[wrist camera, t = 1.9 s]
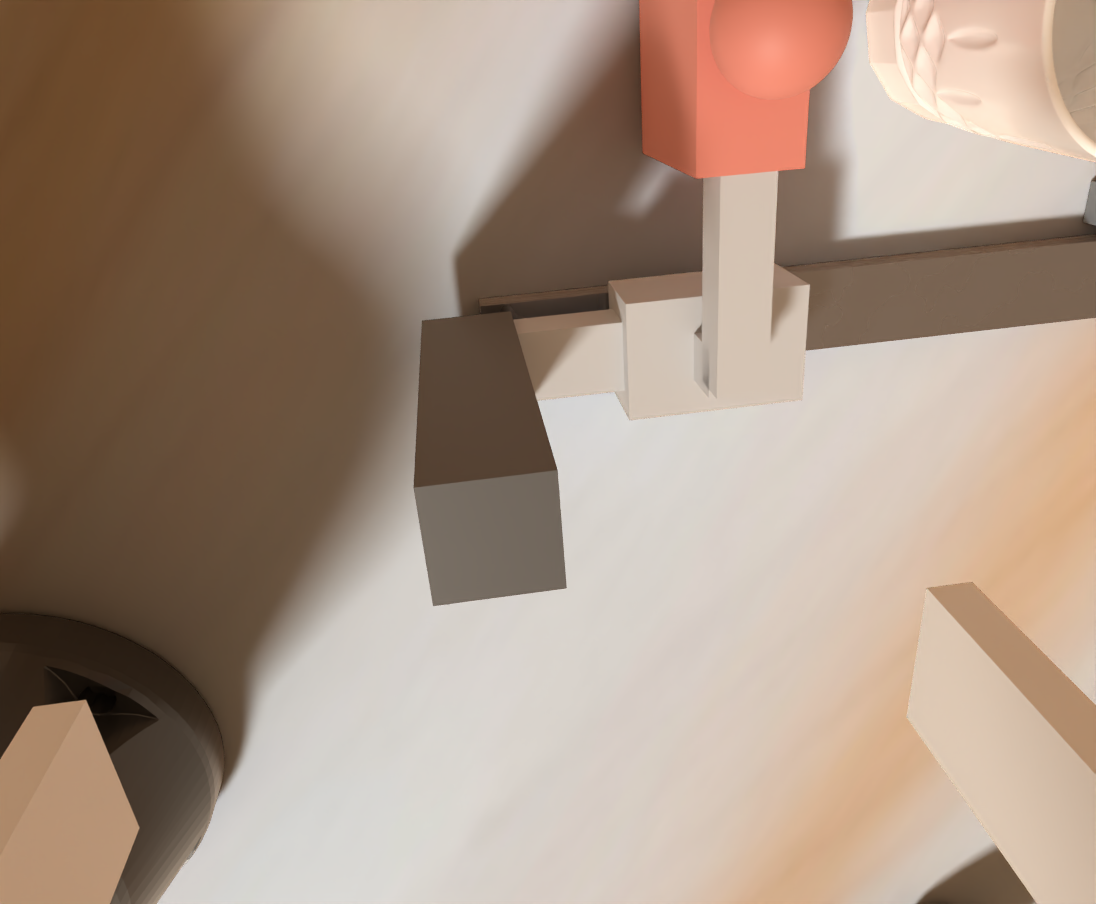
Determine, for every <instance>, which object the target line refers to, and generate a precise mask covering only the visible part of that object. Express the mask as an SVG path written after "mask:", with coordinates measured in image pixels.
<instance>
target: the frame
mask: <svg viewBox="0 0 1096 904" xmlns="http://www.w3.org/2000/svg"><path fill="white" fill-rule="evenodd" d="M1083 222H1084V223H1088V224H1091V225H1095V226H1096V181H1091V185H1090V190H1089V195H1088V200H1087V205H1086V209H1085V214H1084V219H1083Z"/></svg>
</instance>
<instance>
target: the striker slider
mask: <svg viewBox="0 0 1096 904" xmlns="http://www.w3.org/2000/svg"><path fill="white" fill-rule="evenodd" d="M639 13H640V58H641V104H642V149H643V154H645V155H647V156H650V157H652V158H654V159H656V160H658V161H660V162H662V163H664V164H666V165H668V166H671V167H673V168H675V169H677V170H679V171H681V172H683V173H685V174H687V175H689V176H692V177H694V178H696V179H699V178H703V271H699V272H690V273H680V274H670V275H661V276H651V277H642V278H632V279H623V280H613V281H608V293H609V309H608V310H598V311H589V312H580V313H570V314H561V315H552V316H543V317H533V318H524V319H515V320H513V317H512V314H511V311H509V312H499V313H490V314H480V315H471V316H462V317H452V318H443V319H434V320H424V321H422V333H421V353H420V373H419V393H418V413H417V433H416V452H415V472H414V492H415V499H416V505H417V511H418V517H419V523H420V529H421V535H422V541H423V547H424V553H425V559H426V565H427V571H428V577H429V583H430V590H431V596H432V602H433V606H437V605H445V604H452V603H460V602H467V601H475V600H482V599H490V598H497V597H505V596H512V595H520V594H527V593H535V592H542V591H550V590H557V589H565V588H566V575H565V562H564V549H563V536H562V523H561V510H560V497H559V484H558V471H557V467H556V464H555V460H554V457H553V453H552V450H551V447H550V443H549V440H548V436H547V433H546V430H545V426H544V423H543V419H542V416H541V413H540V409H539V406H538V402H537V401H539V400H548V399H556V398H565V397H574V396H582V395H591V394H600V393H608V392H615V394H616V396H617V398H618V399H619V401H620V403H621V405H622V407H623V409H624V411H625V413H626V415H627V416H628V418H629V420H636V419H645V418H653V417H662V416H670V415H679V414H687V413H696V412H704V411H713V410H721V409H730V408H738V407H747V406H755V405H763V404H772V403H780V402H789V401H797V400H802V395H803V380H804V365H805V350H806V335H807V320H808V305H809V290H810V284H808V283H806V282H805V281H803V280H801V279H800V278H798V277H797V276H795V275H793V274H792V273H790V272H788V271H787V270H785V269H784V268H782V267H780V266H779V265H777V264H774V253H775V231H776V210H777V189H778V171H782V170H793V169H803V168H805V158H806V141H807V125H808V108H809V92H810V89H811V88H812V87H814V86H815V85H817V84H818V83H819V82H820V81H821V80H823V79H824V78H825V77H826V76H827V75H828V74H829V72H830V71H831V70H832V69H833V68H834V66H835V65H836V64H837V62H838V61H839V59H840V57H841V56H842V54H843V52H844V50H845V48H846V45H847V42H848V39H849V36H850V32H851V27H852V19H853V7H852V0H639Z"/></svg>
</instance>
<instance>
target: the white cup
mask: <svg viewBox="0 0 1096 904" xmlns="http://www.w3.org/2000/svg"><path fill="white" fill-rule="evenodd" d="M866 24H867V39H868V54H869V63H870V65H871V66H872V68H873V70H874V72H875V73H876V75H877V77H878V79H879V80H880V82H881V84H882V86H883V88H884V89H885V91H886V93H887V95H888V96H889V98H890V99H891V100H892V101H894V102H896V103H898V104H899V105H901V106H903V107H905V108H906V109H908V110H910V111H912V112H914V113H915V114H917V115H919V116H921V117H923V118H924V119H927V120H932V121H937V122H941V123H946V124H950V125H952V126H954V127H957V128H960V129H963V130H966V131H969V132H972V133H975V134H979V135H984V136H989V137H992V138H995V139H999V140H1002V141H1005V142H1009V143H1013V144H1017V145H1021V146H1026V147H1030V148H1035V149H1039V150H1043V151H1048V152H1052V153H1057V154H1061V155H1065V156H1070V157H1074V158H1078V159H1083V160H1087V161H1091V162H1096V0H870V1H869V4H868V8H867V11H866Z"/></svg>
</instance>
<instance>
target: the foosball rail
mask: <svg viewBox="0 0 1096 904" xmlns="http://www.w3.org/2000/svg"><path fill="white" fill-rule="evenodd" d="M782 268H784V269H785V270H787V271H788V272H790V273H792V274H793V275H795V276H797V277H798V278H800V279H801V280H803V281H805V282H806V283H808V284H810V290H809V305H808V320H807V335H806V350H814V349H823V348H832V347H841V346H850V345H858V344H867V343H876V342H885V341H894V340H903V339H911V338H920V337H929V336H938V335H947V334H955V333H964V332H973V331H982V330H991V329H1000V328H1008V327H1017V326H1026V325H1035V324H1044V323H1053V322H1061V321H1070V320H1079V319H1088V318H1096V234H1091V235H1081V236H1072V237H1062V238H1053V239H1043V240H1034V241H1024V242H1015V243H1005V244H996V245H986V246H977V247H967V248H958V249H948V250H938V251H929V252H919V253H910V254H900V255H891V256H881V257H872V258H862V259H853V260H843V261H834V262H824V263H815V264H805V265H796V266H786V267H782ZM479 306H480V314H490V313H499V312H509V311H511V314H512V317H513V320H515V319H524V318H533V317H543V316H552V315H561V314H570V313H580V312H589V311H598V310H608V309H609V293H608V285H605V286H596V287H586V288H577V289H567V290H558V291H548V292H539V293H529V294H520V295H510V296H500V297H491V298H481V299H479Z"/></svg>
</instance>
